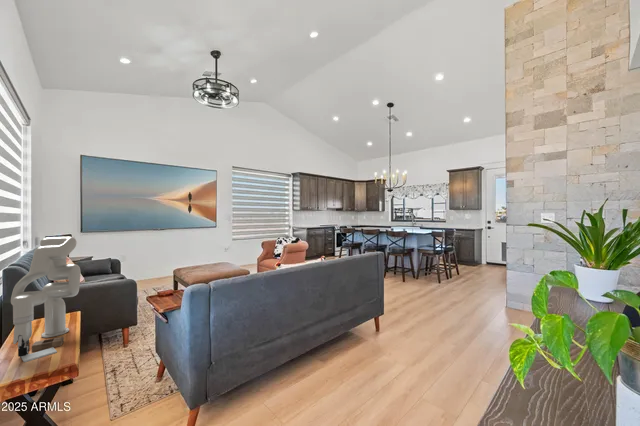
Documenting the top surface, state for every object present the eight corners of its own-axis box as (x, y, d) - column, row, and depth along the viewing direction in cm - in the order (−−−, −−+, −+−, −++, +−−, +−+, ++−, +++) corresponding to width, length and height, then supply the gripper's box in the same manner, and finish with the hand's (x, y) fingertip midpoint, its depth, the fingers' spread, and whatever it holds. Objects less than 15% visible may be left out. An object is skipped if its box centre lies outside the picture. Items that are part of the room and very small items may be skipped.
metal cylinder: (21, 355, 150) (21, 339, 150) (29, 353, 152) (29, 338, 152) (18, 357, 148) (18, 342, 148) (27, 356, 149) (26, 340, 149)
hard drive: (53, 346, 158) (21, 355, 148) (57, 351, 153) (23, 360, 143) (53, 349, 158) (21, 359, 148) (57, 354, 153) (23, 364, 143)
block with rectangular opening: (35, 346, 160) (35, 341, 160) (63, 341, 166) (63, 336, 166) (31, 351, 155) (31, 345, 155) (61, 345, 161) (61, 340, 161)
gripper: (19, 316, 155) (19, 349, 155) (7, 325, 141) (7, 363, 141) (38, 313, 159) (38, 346, 159) (28, 322, 145) (28, 358, 145)
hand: (23, 353), depth 150 cm, fingers closed on metal cylinder, 3 cm apart
